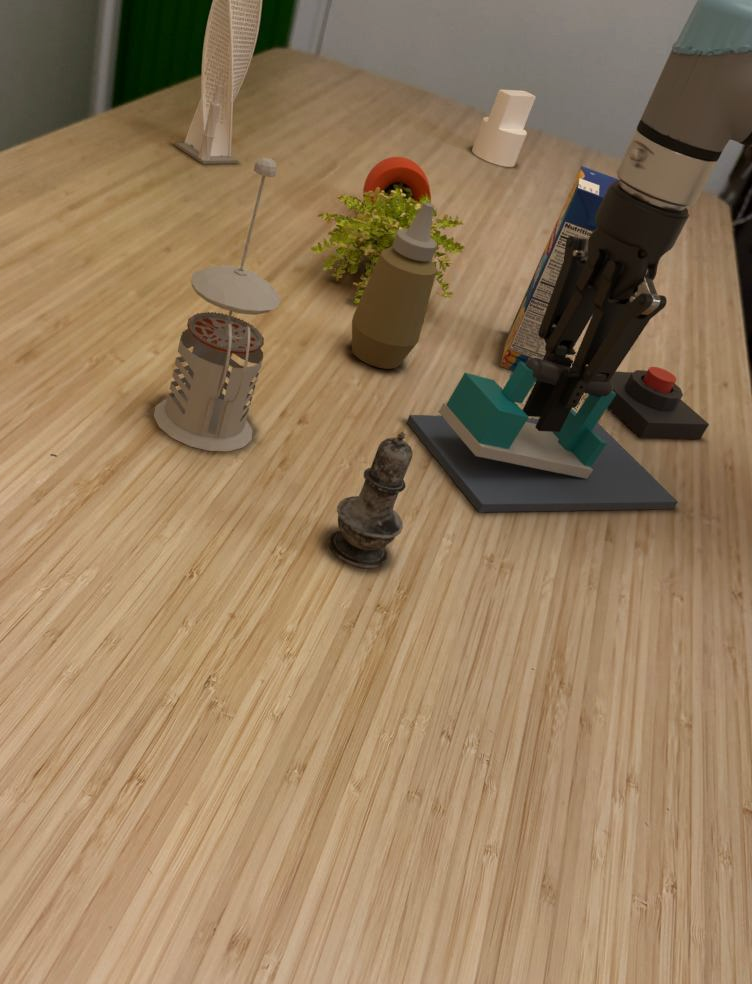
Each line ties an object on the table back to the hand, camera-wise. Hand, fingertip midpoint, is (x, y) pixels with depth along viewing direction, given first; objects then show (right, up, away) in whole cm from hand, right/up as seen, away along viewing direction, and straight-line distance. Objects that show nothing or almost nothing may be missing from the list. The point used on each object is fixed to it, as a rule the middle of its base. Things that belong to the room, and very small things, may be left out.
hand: (540, 421), depth 107 cm
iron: (-3, -2, +1) cm, 4 cm away
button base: (+19, +6, +23) cm, 30 cm away
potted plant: (-14, +32, +40) cm, 53 cm away
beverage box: (+5, +13, +26) cm, 30 cm away
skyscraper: (-38, +53, +55) cm, 85 cm away
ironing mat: (+1, -4, +5) cm, 6 cm away
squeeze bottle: (-16, +10, +15) cm, 24 cm away
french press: (-34, -2, -7) cm, 35 cm away
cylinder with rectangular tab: (+16, +73, +99) cm, 124 cm away
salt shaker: (-20, -15, -16) cm, 30 cm away
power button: (+20, +9, +20) cm, 30 cm away
